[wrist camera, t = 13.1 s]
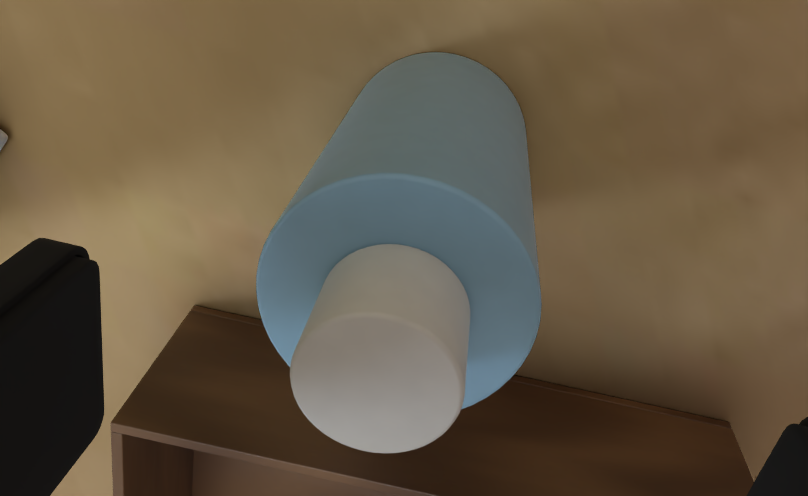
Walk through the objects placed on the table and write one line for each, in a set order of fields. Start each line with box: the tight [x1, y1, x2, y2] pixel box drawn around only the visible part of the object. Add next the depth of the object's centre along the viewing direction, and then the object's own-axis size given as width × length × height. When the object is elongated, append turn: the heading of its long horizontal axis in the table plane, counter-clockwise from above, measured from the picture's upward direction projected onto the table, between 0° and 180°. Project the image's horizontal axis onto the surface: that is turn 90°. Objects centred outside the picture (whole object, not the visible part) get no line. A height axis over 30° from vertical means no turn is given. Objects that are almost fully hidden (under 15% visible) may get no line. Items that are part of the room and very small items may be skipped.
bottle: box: [256, 52, 542, 453], centre depth 14 cm, size 5×5×10 cm
